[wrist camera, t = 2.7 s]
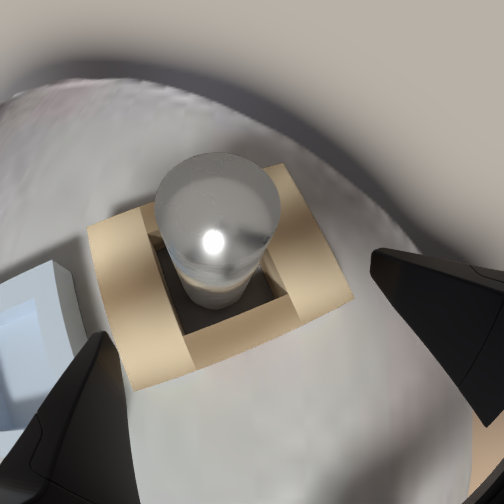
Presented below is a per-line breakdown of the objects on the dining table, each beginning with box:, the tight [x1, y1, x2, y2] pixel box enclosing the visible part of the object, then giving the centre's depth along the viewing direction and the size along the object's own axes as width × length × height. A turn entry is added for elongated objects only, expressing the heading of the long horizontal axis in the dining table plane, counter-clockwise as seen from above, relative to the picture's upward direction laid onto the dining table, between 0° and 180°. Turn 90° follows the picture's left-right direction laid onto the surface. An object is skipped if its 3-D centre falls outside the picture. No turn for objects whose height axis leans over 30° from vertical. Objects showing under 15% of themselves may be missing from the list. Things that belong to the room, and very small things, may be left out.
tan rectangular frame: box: [87, 163, 355, 391], centre depth 17 cm, size 10×14×3 cm
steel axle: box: [154, 153, 281, 309], centre depth 14 cm, size 4×4×10 cm
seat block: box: [0, 260, 88, 457], centre depth 13 cm, size 12×12×3 cm
